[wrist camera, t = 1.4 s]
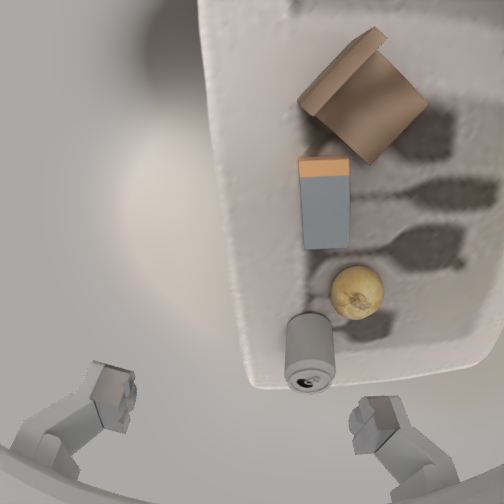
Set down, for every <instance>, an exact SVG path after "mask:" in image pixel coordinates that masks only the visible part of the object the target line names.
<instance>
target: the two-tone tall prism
mask: <svg viewBox="0 0 504 504" xmlns="http://www.w3.org/2000/svg"><path fill="white" fill-rule="evenodd" d="M298 161H299V174H300V187H301V202H302V219H303V237H304V250H308V249H330V248H349V212H350V180H349V158H348V157H347V156H319V157H299V158H298Z"/></svg>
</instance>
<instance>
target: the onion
mask: <svg viewBox="0 0 504 504" xmlns="http://www.w3.org/2000/svg"><path fill="white" fill-rule="evenodd" d="M383 297H384V286H383V283H382V281H381V279H380V277H379V276H378V275H377V274H376V273H375V272H374V271H372V270H371V269H369V268H367V267H364V266H354V267H349V268H347V269H344V270H343V271H342V272H340V273H339V274H338V275H337V277H336V278H335V279H334V281H333V284H332V287H331V303H332V305H333V307H334V309H335V310H336V311H337V312H338V313H339V314H340V315H342V316H343V317H345V318H347V319H353V320H358V319H362V318H365V317H367V316H369V315H371V314H373V313H374V312H375V311H376V310H377V309H378V308H379V306H380V305H381V303H382V300H383Z"/></svg>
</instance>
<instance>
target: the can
mask: <svg viewBox="0 0 504 504" xmlns="http://www.w3.org/2000/svg"><path fill="white" fill-rule="evenodd" d="M335 373H336V370H335V357H334V345H333V335H332V326H331V323H330V322H329V321H328V319H327V318H325V317H323V316H322V315H318V314H313V313H307V314H303V315H299V316H297V317H295V318H294V319H292V320H291V321H290V322H289V324H288V327H287V339H286V356H285V372H284V377H285V379H286V381H287V382H288V385H289V387H290V388H291V389H292V390H293V391H295V392H298V393H301V394H317V393H320V392H323V391H325V390H326V389H328V388H329V387H330V385H331V382H332V380H333V379H334V377H335Z"/></svg>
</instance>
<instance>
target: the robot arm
mask: <svg viewBox="0 0 504 504" xmlns="http://www.w3.org/2000/svg"><path fill="white" fill-rule="evenodd" d="M134 380H135V374H134V372H133V371H130V370H126V369H122V368H119V367H115V366H112V365H108V364H105V363H101V362H98V361H95V360H93V361H92V362H91V363H90V365H89V367H88V369H87V371H86V373H85V375H84V377H83V379H82V381H81V383H80V385H79V387H78V390H77V391H76V393H75V394H73V393H71V394H69V395H68V396H66V397H64V398H63V399H61V400H59V401H57V402H56V403H54V404H52V405H51V406H49V407H47V408H45V409H43V410H42V411H40V412H38V413H37V414H35V415H33V416H31V417H29V418H28V419H26V420H24V421H23V423H22V425H21V427H20V429H19V431H18V433H17V435H16V437H15V439H14V441H13V444H12V446H11V448H10V449H8V448H6V447H5V446H3V445H1V444H0V504H155V503H150V502H146V501H142V500H138V499H133V498H129V497H126V496H122V495H119V494H115V493H112V492H109V491H106V490H103V489H99V488H96V487H93V486H91V485H88V484H85V483H82V482H80V481H77V479H78V476H79V473H80V469H79V467H78V465H77V464H76V462H75V461H74V460H73V458H72V457H71V456H72V455H73V454H74V453H75V452H77V451H78V450H79V449H80V448H82V447H83V446H84V445H85V444H87V443H88V442H89V441H90V440H91V439H93V438H94V437H95V436H96V435H97V434H99V433H100V432H101V431H102V430H103V428H105V429H108V430H112V431H116V432H120V433H124V434H126V432H127V429H128V425H129V422H130V415H129V412H130V411H132V410H133V409H134V405H135V402H136V396H137V388H136V385H135V384H134ZM358 403H359V406H358V407H356V408H355V409H353V411H352V413H351V414H350V417H349V429H350V432H351V433H352V434H353V435H354V438H353V440H352V442H353V446H354V451H355V454H356V455H357V454H372V453H375V454H374V455H375V456H376V457H377V458H378V459H379V460H380V462H381V463H382V464H383V465H384V466H385V468H386V469H387V470H388V471H389V472H390V473H391V475H392V476H393V477H394V478H395V479H396V480H397V482H398V483H399V484H400V485H399V486H398V487H396V488H395V489H393V490H392V491H391V493H390V495H391V500H392V503H389V504H504V464H502V465H500V466H498V467H496V468H494V469H491V470H489V471H487V472H485V473H483V474H480V475H478V476H475V477H473V478H470V479H468V480H465V481H463V482H460V481H459V478H458V475H457V472H456V469H455V466H454V464H453V461H452V459H451V457H449V456H448V455H447V454H446V453H445V452H443V451H442V450H441V449H440V448H439V447H437V446H436V445H435V444H434V443H433V442H432V441H430V440H429V439H428V438H427V437H426V436H424V435H423V434H422V433H421V432H420V431H418V430H417V429H416V428H415V427H411V424H410V421H409V419H408V416H407V414H406V411H405V409H404V406H403V404H402V401H401V399H400V397H399V396H371V397H370V396H369V397H363V398H361V399H360V401H359V402H358Z"/></svg>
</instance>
